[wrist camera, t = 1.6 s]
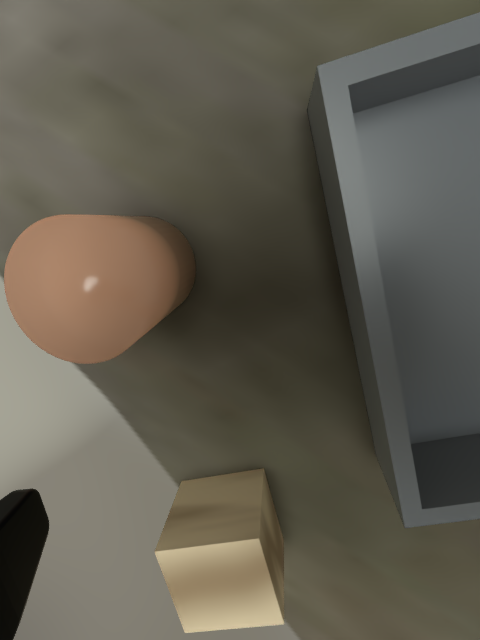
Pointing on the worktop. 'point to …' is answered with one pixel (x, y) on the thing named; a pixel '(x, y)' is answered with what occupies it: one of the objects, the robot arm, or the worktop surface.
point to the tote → (411, 254)
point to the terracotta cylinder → (96, 282)
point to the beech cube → (224, 553)
